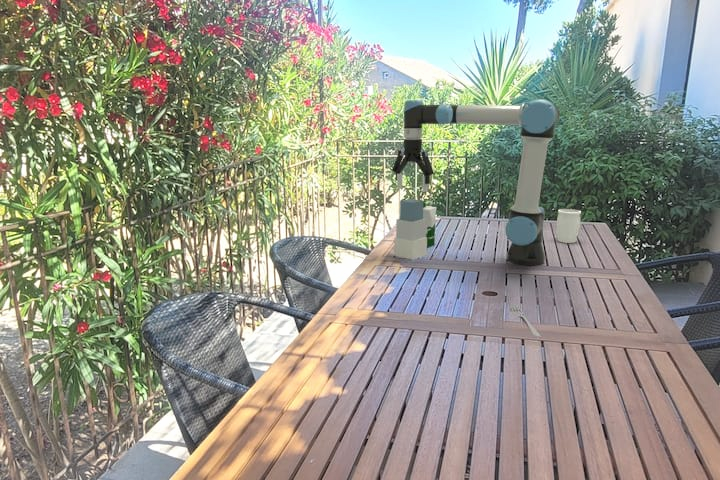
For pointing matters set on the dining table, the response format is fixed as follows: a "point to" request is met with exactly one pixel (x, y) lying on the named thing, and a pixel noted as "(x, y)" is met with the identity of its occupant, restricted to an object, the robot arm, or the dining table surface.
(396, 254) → the tower base
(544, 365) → the dining table surface
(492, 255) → the dining table surface
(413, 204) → the slate block
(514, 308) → the fork
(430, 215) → the milk carton
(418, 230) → the tower top
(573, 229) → the jar
